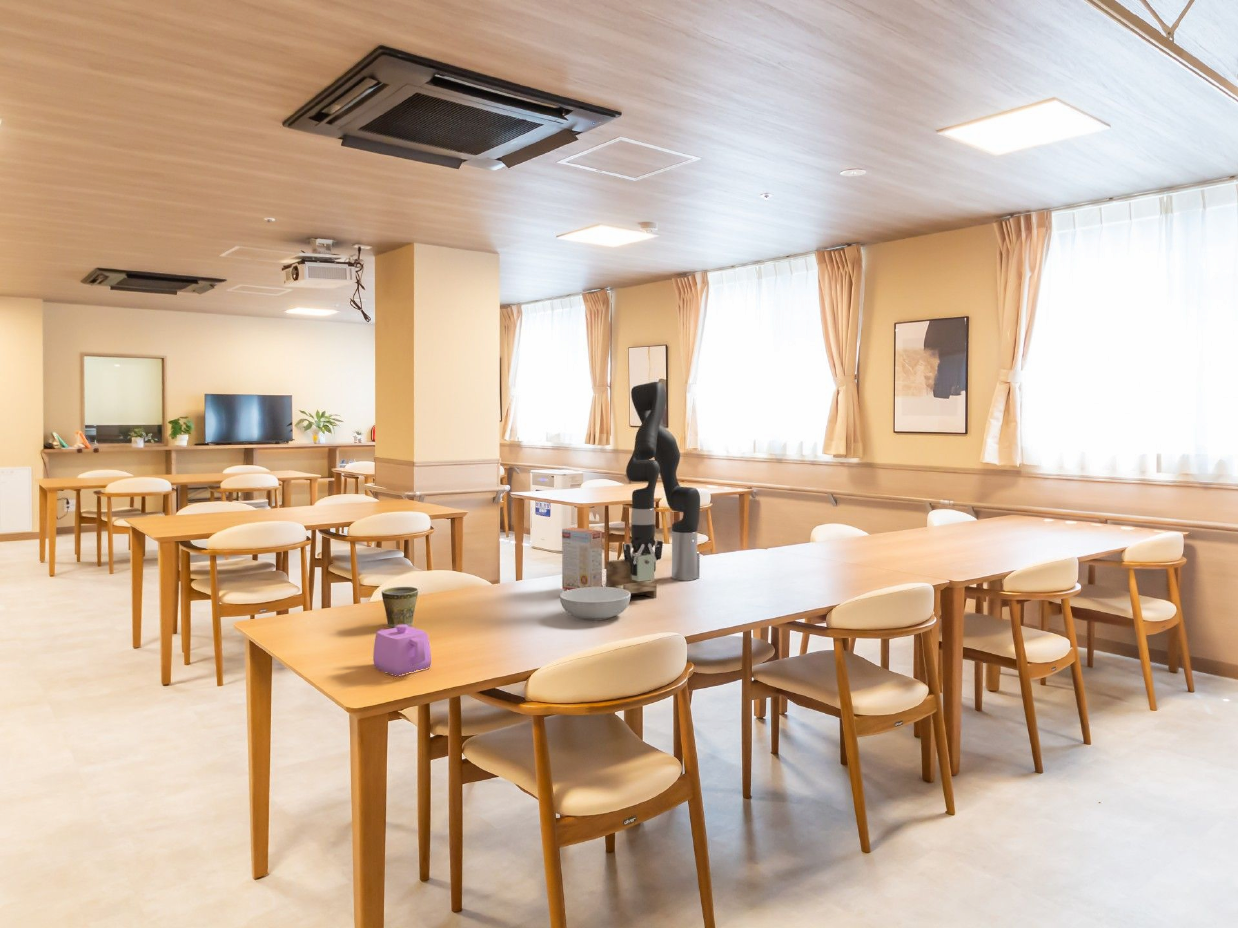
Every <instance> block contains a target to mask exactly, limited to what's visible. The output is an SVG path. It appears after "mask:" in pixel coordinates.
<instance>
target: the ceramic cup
mask: <svg viewBox="0 0 1238 928" xmlns="http://www.w3.org/2000/svg"><path fill="white" fill-rule="evenodd" d="M418 594H419V589H418V588H417V587H412V586H394V587H389V588H385V589H383V590H382V591H381V597H382V603H383V607H384V612H385V615H386V621H387V627H389V628H391V627H393V628H396V626H397V625H407V626H409V627H412V625H413V622H414V621H413V620H414V616H415V615H414V614H415V609H416V605H417V601H418V596H419V595H418Z"/></svg>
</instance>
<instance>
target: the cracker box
mask: <svg viewBox="0 0 1238 928" xmlns="http://www.w3.org/2000/svg"><path fill="white" fill-rule="evenodd" d="M561 530H562V531H561V532H562V533H561V538H562V539H561V541H562V543H561V544H562V545H561V550H562V551H561V553H562V554H561V555H562V556H561V557H562V558H561V559H562V560H561V564H562V565H561V569H562V570H561V571H562V572H561V573H562V575H561V576H562V577H561V578H562V581H561V582H562V585H561V589H562V590H565V591H567V590H571V589H576V588H584V587H603V531H602V530H597V529H589V528H581V527H567V528H562V529H561Z"/></svg>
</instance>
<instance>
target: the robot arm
mask: <svg viewBox="0 0 1238 928" xmlns="http://www.w3.org/2000/svg"><path fill="white" fill-rule="evenodd" d="M630 396H631V401H632V404H633V407H634V409H635V411H636V414H637V417H638V419H639V421H640V422H641V425H640V426H639V428H638V430H637V431H636V435H635V438H634V448H633V449H634V450H633V452H632V454H631V457H630V458H629V460H628V463H627V465H626V470H625V474H626V478H627V479H628V480H629V481H630V482H632V483H635V482H637V483H639V482H640V483H645V482H647V485H646V486H645V487H643V488H637V489H635V490H632V493H631V517H630V521H631V523H630V528H631V529H630V531H631V532H630V537H631V540H630V542H629V543H626V542H625V543H623V544H622V549H623V550H622V551H623V559H625V562H629V563H630V572H631V574H632V575H633V576H637V564H636V563H637V557H638V556H640V555H641V554H650V555H654V573H655V572H656V570H657V569H656V568H657V567H656V564H657V563H656V562H657V561H659V560H661V559H662V555H663V554H662V553H663V546H664V545H663V544H664V542H663V541H662V540H659V539H657V540H656V539H655V535H656V531H655V530H656V526H655V525H656V523H655V521H656V519H655V518H656V513H655V491H656V486H657V482H658V481H659V480H658V479H659V476H660V478H661V482H662V485H663V486H662V487H663V491H664V495H665V499H666V503H667V505H668V507H669V509H670V510H671V511H673V512H677V513H683V514H682V518H681V519H680V520H677V521H674V522H673V523H672V525H671V579H674V580H675V581H676V580H677V581H693V580H697V579H700V561H701V560H700V558H701V556H700V555H701V554H700V551H698V528H699V523H700V512H701V511H700V509H701V494H700V492H699V490H698V489H697V488H695V487H690V486H688V487H687V486H681V485H680V484H679V480H678V478H677V477H678V476H677V469H678V467H679V463H680V459H681V452H680V449H679V446H678V444H677V440H676V437H675V436H674V434H672V433H671V431H669V430H668V429H667V428H665V426H663V425H662V424H661V423H662V419H663V416H664V411H665V409H666V403H667V393H666V389H665V387H664V385H663V383H662V382H660V381H651V382H646V383H643V384H638V385H634V386H633V387H632V388H631V391H630ZM634 556H635V557H634Z"/></svg>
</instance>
